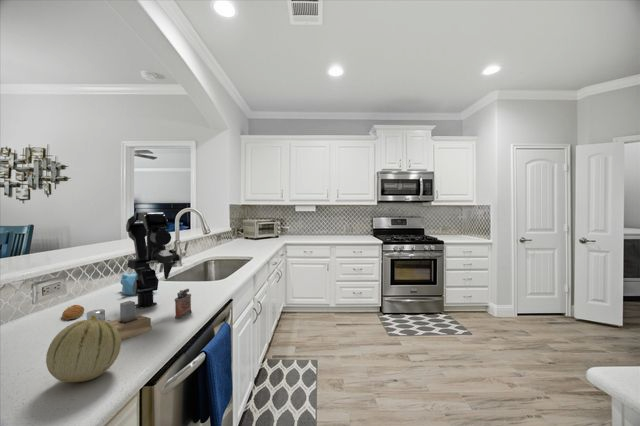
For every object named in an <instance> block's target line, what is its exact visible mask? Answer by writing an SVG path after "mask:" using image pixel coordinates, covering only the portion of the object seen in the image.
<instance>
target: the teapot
mask: <svg viewBox="0 0 640 426" xmlns="http://www.w3.org/2000/svg"><path fill="white" fill-rule="evenodd" d="M134 272H135V271H134ZM136 275H137V273H136V272H135V273H131V274H128V273H124V274H122V275H121V279H120V282H119V283H120V284H121V285H122V287H121V291H122V293H123V294H125V295H127V296H138V294H135V293H133V284H134V281H135V277H136ZM156 277H157V278H159V277H158V275H156Z"/></svg>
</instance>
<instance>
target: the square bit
mask: <svg viewBox="0 0 640 426" xmlns="http://www.w3.org/2000/svg"><path fill="white" fill-rule="evenodd" d="M135 304H136V302H135V301H133V300H128V301H123V302H120V303H119V309H120V310H119V315H120V316H119V318H120V323H122V324H126V323H129V322H132V321H135V314H136V306H135Z"/></svg>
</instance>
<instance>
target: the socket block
mask: <svg viewBox="0 0 640 426" xmlns="http://www.w3.org/2000/svg"><path fill="white" fill-rule="evenodd" d="M108 322H109V323H111V324H113V325H114V326H115V327H116V328H117V330H118V332H119V334H120V337H121V342H122V341H124V340H126V339H127V340H128V339H129V338H131V337H135V336H138V335H140V334H142V333H145V332H147V331H150V330H152V319H151V318H150V317H147V316H145V315H141V314H137V313H135V321H132V322H129V323H126V324H122V323H120V317H119V318H116V319H112V320H109V321H108Z"/></svg>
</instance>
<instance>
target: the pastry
mask: <svg viewBox="0 0 640 426" xmlns="http://www.w3.org/2000/svg"><path fill="white" fill-rule="evenodd" d="M84 312H85V308H84V307H83V306H81V305H79V304H73V305H71V306H68V307H66V309H64V310H63V312H62V314H61V315H62V316H61V317H62V318H63V320H64V321H69V320H74V319H78V318H80V317H82V316H83V314H85V313H84Z"/></svg>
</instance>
